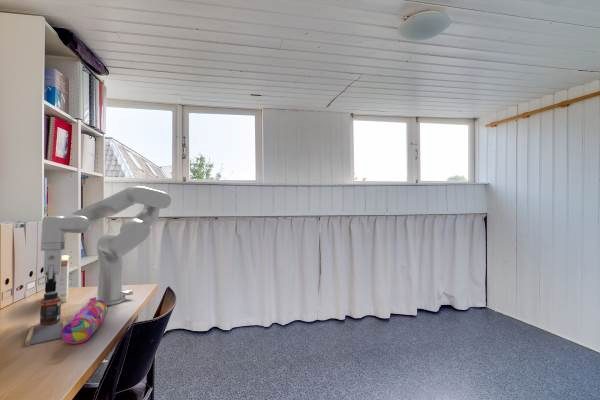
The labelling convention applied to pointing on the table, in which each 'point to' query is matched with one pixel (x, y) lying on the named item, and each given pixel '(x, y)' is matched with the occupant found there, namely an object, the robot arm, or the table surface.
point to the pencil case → (85, 322)
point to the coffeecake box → (63, 279)
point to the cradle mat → (44, 334)
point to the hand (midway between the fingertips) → (50, 291)
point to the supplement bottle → (50, 308)
